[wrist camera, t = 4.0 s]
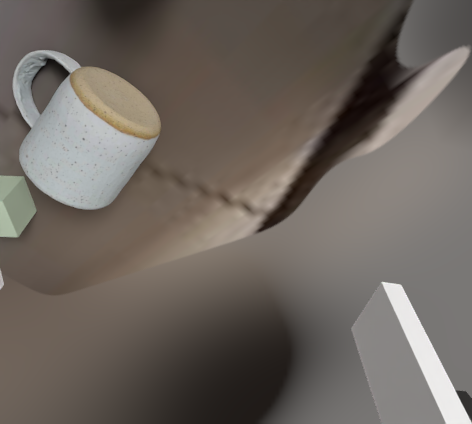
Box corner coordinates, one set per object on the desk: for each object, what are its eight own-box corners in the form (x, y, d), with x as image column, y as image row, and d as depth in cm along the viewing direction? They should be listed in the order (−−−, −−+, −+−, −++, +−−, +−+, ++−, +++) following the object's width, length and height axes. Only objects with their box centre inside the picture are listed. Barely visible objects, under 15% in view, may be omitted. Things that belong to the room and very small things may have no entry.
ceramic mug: (174, 109, 29) (158, 153, 23) (124, 175, 33) (98, 229, 26) (48, 14, 25) (-14, 36, 19) (7, 102, 29) (-55, 145, 22)
